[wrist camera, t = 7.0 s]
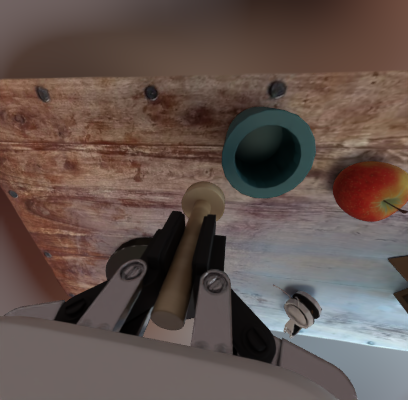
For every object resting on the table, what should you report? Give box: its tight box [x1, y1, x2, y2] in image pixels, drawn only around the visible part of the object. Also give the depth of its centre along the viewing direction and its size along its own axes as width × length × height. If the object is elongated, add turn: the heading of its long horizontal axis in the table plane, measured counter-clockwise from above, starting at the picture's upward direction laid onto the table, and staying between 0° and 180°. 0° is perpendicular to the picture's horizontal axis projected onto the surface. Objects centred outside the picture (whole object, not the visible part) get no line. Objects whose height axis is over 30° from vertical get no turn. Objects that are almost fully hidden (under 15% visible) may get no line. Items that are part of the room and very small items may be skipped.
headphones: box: [273, 285, 322, 338], centre depth 40 cm, size 8×10×20 cm
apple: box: [333, 161, 408, 222], centre depth 25 cm, size 8×8×10 cm
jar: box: [222, 107, 316, 198], centre depth 23 cm, size 9×9×12 cm
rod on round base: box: [151, 181, 225, 330], centre depth 11 cm, size 4×4×10 cm
